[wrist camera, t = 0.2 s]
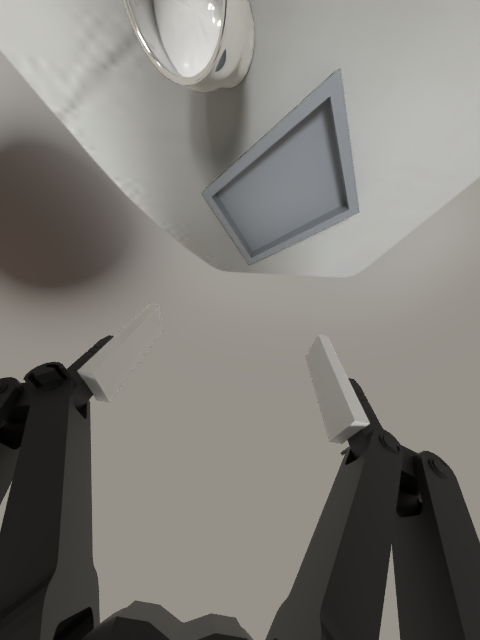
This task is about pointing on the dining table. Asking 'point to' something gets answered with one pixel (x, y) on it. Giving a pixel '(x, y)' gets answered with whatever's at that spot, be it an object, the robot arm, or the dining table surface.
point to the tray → (290, 178)
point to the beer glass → (196, 39)
